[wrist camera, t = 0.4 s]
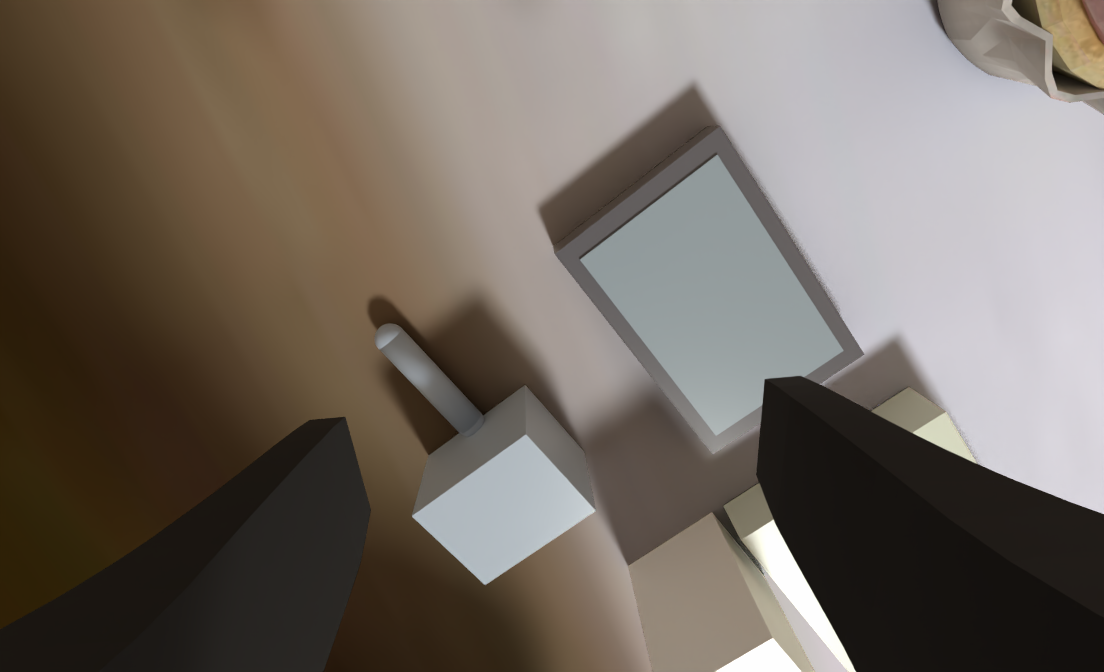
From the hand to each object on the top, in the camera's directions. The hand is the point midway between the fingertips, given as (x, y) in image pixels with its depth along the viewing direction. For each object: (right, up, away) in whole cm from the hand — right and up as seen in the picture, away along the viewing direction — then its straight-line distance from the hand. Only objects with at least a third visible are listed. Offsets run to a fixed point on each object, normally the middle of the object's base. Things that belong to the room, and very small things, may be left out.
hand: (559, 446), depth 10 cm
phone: (+5, +3, +10) cm, 11 cm away
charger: (+6, -8, +14) cm, 17 cm away
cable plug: (-3, -1, +11) cm, 11 cm away
